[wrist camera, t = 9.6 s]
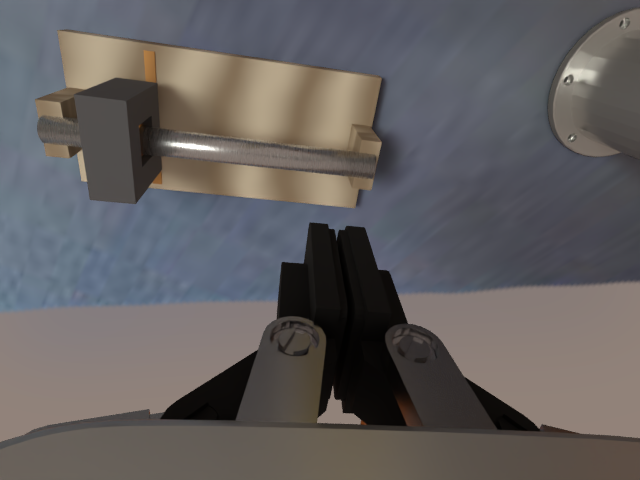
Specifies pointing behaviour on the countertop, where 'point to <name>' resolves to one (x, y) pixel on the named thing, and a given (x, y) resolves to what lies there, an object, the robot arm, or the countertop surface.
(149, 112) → the collar
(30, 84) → the countertop surface
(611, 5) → the countertop surface
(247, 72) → the pipe stand
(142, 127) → the pipe
